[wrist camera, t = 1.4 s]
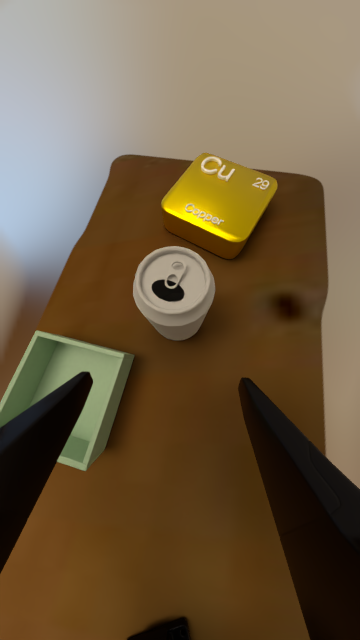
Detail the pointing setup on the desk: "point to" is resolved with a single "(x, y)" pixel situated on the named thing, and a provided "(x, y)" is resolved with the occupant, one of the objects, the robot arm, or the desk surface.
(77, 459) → the tray
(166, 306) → the can
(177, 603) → the desk surface
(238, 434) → the desk surface
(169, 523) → the desk surface
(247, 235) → the element tile
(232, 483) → the desk surface
